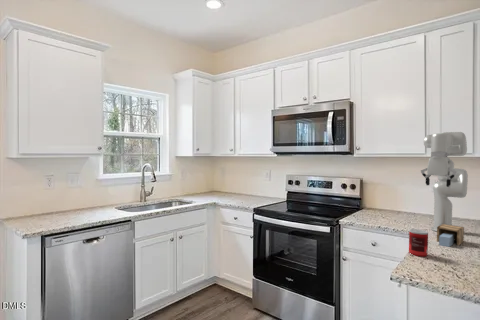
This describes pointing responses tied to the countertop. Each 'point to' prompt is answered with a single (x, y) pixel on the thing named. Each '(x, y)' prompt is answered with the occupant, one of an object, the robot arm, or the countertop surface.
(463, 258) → the countertop surface
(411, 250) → the canned food
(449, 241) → the bar
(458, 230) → the cubby
